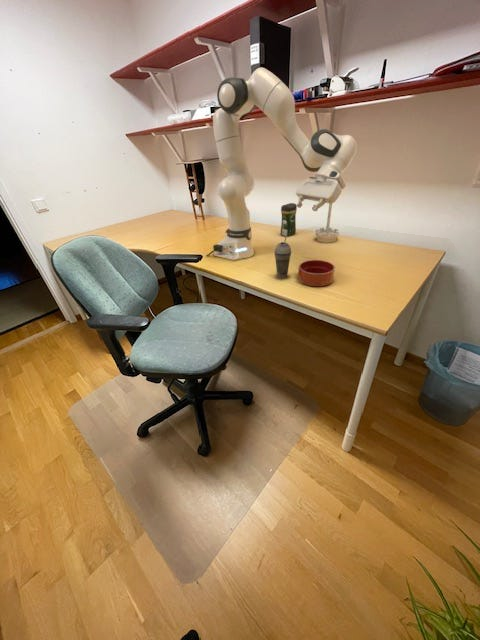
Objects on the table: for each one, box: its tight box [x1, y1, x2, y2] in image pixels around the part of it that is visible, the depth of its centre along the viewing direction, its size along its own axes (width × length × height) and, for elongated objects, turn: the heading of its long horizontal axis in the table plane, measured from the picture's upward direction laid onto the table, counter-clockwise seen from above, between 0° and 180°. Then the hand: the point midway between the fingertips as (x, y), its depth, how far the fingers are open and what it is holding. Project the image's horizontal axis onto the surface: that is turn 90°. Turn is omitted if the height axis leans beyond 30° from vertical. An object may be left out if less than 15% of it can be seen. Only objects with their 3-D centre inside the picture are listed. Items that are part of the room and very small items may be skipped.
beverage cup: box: [273, 232, 292, 280], centre depth 110 cm, size 7×7×20 cm
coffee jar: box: [280, 202, 298, 237], centre depth 160 cm, size 10×8×19 cm
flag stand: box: [315, 203, 340, 244], centre depth 144 cm, size 13×13×30 cm
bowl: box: [297, 259, 336, 287], centre depth 109 cm, size 15×15×6 cm
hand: (305, 208), depth 104 cm, fingers open, 8 cm apart
